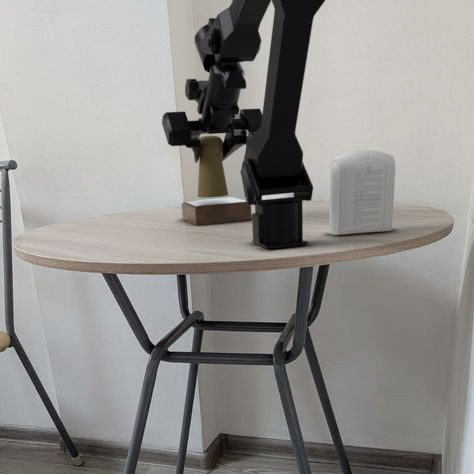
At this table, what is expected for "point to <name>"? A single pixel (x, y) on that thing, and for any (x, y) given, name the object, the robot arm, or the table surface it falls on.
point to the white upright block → (362, 192)
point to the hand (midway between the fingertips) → (208, 160)
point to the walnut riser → (216, 211)
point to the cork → (211, 168)
